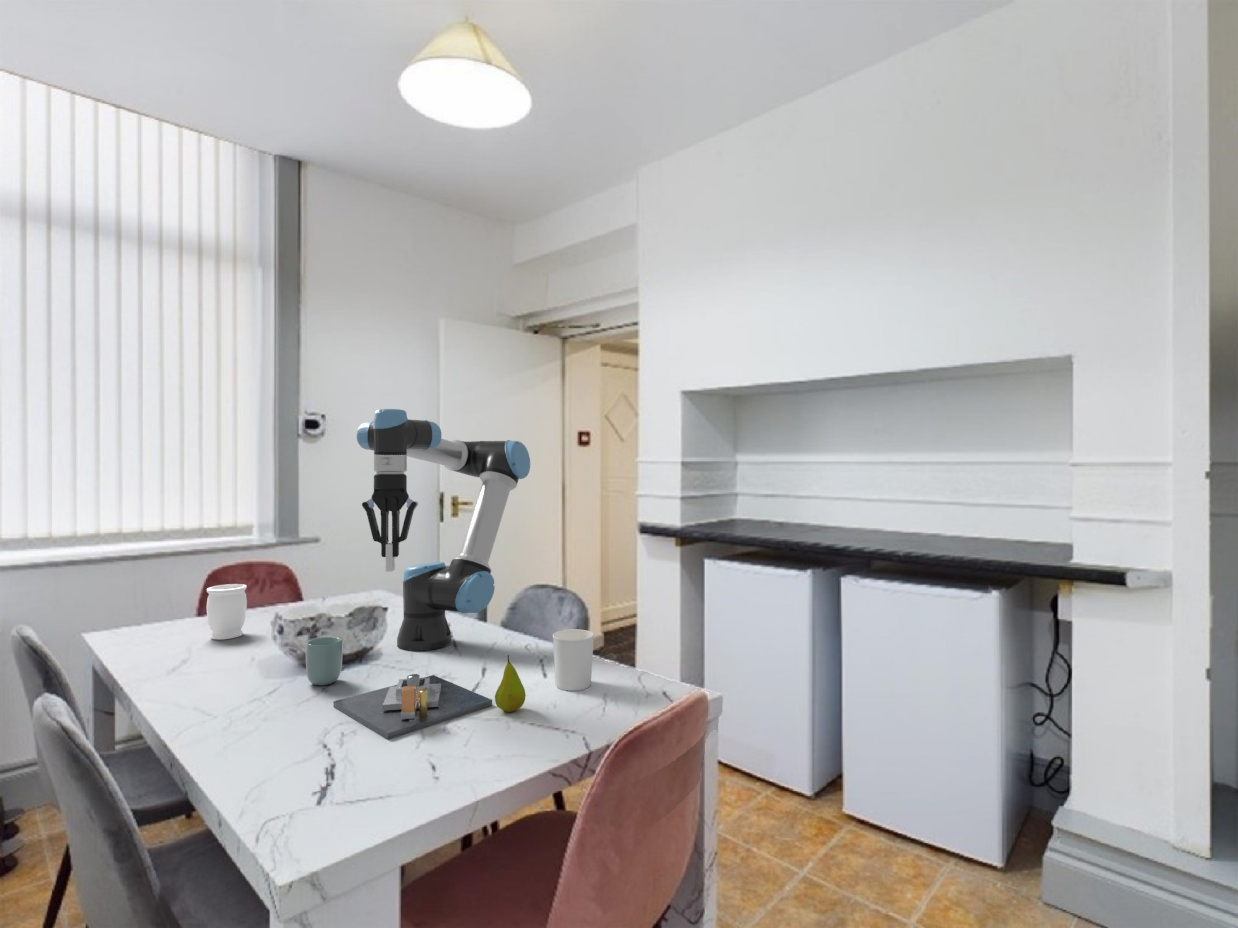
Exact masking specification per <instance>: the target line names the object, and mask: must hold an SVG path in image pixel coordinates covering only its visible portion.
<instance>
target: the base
mask: <svg viewBox="0 0 1238 928" xmlns="http://www.w3.org/2000/svg"><path fill="white" fill-rule="evenodd" d="M426 677H430V684H441V692H440V698H439V704H438V707H427V716H426V717H419V708H417V711H416V715H415V718H412V719H401V712H402V709H399V710H385V711H383V703H384V700H385V698H386V695H387V693H388V690H389V688H390V687H396V686H397V685H398V683H397V684H394V685H390V686H386V687H383V688H380V689H375V690H372V691H368V692H364V693H360V694H356V695H352V696H348V697H344V698H340V699H337V700H334V701H333V708H334V709H336V710H338V711H340V712H341V713H343V714H345V715H346V716H348V717H350V718H351V719H352V720H355V721H357V722H358V723H360V724H361V725H363V726H364V727H366V728H368V729H369V730H370V731H373V732H374V733H376V734H378V735H380V736H381V737H383V738H384V739H386V740H390V739H394V738H398V737H400V736H403V735H406V734H409V733H413V732H415V731H418V730H422V729H424V728H427V727H431V726H433V725H436V724H440V723H443V722H446V721H449V720H453V719H455V718H459V717H461V716H465V715H467V714H470V713H474V712H477V711H480V710H482V709H486V708H489V707H492V706H493V699H491V698H488V697H486V696H483V695H481V694H479V693H478V692H474V691H473V690H470V689H468V688H465V687H462V686H461V685H458V684H455V683H453V682H451V681H448V680H446V679H443V678H441V677H439V676H437V675H435V674H432V675H427V676H424V677H423V678H426ZM420 678H421V677H420V674H417V673H412V674H408V675H407V676H406V679H407V686H420Z"/></svg>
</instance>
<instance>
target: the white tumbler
mask: <svg viewBox="0 0 1238 928" xmlns="http://www.w3.org/2000/svg"><path fill="white" fill-rule="evenodd" d="M594 637H595V633H594V632H593V631H591V630H586V629H580V628H577V629H576V628H571V629H569V628H568V629H562V630H558V631H555V632H553V634H552V647H553V663H554V665H553V666H554V679H555V687H556V686H557V687H556V688H557V689H558V690H563V691H566V690H568V692H576V691H583V690H586V689H588V688H589V687H591V683H592V670H593V659H594V658H593V655H594V640H595V638H594Z"/></svg>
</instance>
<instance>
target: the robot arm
mask: <svg viewBox="0 0 1238 928" xmlns="http://www.w3.org/2000/svg"><path fill="white" fill-rule="evenodd" d="M442 436H443V435H442V430H441V428H440V426H439V424H437V423H436V422H434V421H429V420H427V419H426V420H420V419H408V415H407V411H406V410H405V409H404V410H403V409H400V408H399V409H397V408H380V409H377V410H376V411H374V417H373V420H371V421H365V422H363V423H361V424H360V425H359V427H358V428H357V430H356V441H357V444H358V445H359V446H360V448H362V449H364V450H369V451H373V471H374V472H376V473H375V474H374V475H373V492H372V495H371V498H369V499H368V500H366V501H363V502H362V504H361V506H362V508H363V509H364V511H365V512H366V516H367V521H368V524H369V528H370V533H371V537H372V540H373V542H377V543H380V546H381V548H380V549H381V557H382V558H385V572H393V571H395V569H396V568H395V567H396V563H395V562H396V561H395V559H396V558H398V557H399V555H400V543H401V542H404V541H406V540H407V538H408V534H409V531H410V528H411V524H412V519H413V515H414V512H415V510H416V508H417V507H418V505H419V502H418V501H416V500H415V501H414V500H413V499H412V498H410V497H409V493H408V491H407V489H408V486H407V485H408V483H407V482H408V481H407V477H408V476H407V475H406V473H405V472H407V471H408V470H407V469H408V465H407V462H408V461H407V459H408V458H412V459H417V460H421V461H424V462H425V461H426V462H429V463H434V464H437V465H441V466H444V467H445V468H446V469H447V470H449V471H453V472H456V473H459V474H464V475H468V476H470V477H474V478H479V480H480V481H481V482H482V483H481V486H480V490H479V493H478V496H477V499H476V502H475V505H474V508H473V511H472V514H471V517H470V520H469V524H468V526H467V530H466V532H465V535H464V539H463V541H462V545H461V548H460V550H459V554H458V555H457V556H455V557H453V558H452V559H451V562H450V564H449V567H448V568H447V565H446V563H445V562H443V561H442V562H441V561H438V562H428V563H421V564H416V565H411V566H408V567H406V568H405V570H404V571H403V581H402V588H403V589H402V593H403V594H402V595H403V597H402V598H403V605H402V606H403V619H402V623H401V624H400V628H399V632H398V634H397V637H396V647H398V648H399V649H401V650H405V651H417V652H418V651H430V650H436V649H441V648H443V647H447V646H448V645H450V644H451V643H452V632H451V629H450V626H449V623H448V620H447V618H446V612H447V611H449V612H454V613H455V612H458V613H461V614H477V613H480V612H482V610H484V609H486V608H487V607H488V606H489V604H490V602H491V601H492V599H493V596H494V593H495V588H496V587H495V579H494V577H493V574H491V573H492V568H491V567H490V565H489V563H490V562H489V561H490V558H491V554H492V551H493V548H494V544H495V541H496V538H497V536H498V535H497V534H498V531H499V528H500V525H501V521H502V518H503V514H504V512H505V508H506V504H507V502H508V499H509V495H510V492H511V491H512V490H513V491H514V490H515V489H516V488H517V486H518V482H519V480H523V479H525V478H527V476H528V475H529V473H530V470H531V459H530V458H531V457H530V454H529V451H528V449H527V447H526V446H525V444H524V443H523V442H521V441H520V440H519V441H518V440H510V439H507V440H477V441H476V440H475V441H463V440H461V439H460V440H459V439H454V440H448V439H445V438H442ZM407 457H408V458H407ZM405 504H406V508H407V510H406V512H405V515H404V520H403V523H402V524H403V525H402V528H401V532H400V513H401V509H402V508H403V506H405ZM375 506H376V507H377V508H378V510H380V529H379V525H378V520H377V518H376V517H377V516H376V513H375V510H374V507H375ZM390 512H391V520H392V521H391V542H389V541H390V540H389V515H390Z"/></svg>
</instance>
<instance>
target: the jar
mask: <svg viewBox="0 0 1238 928" xmlns="http://www.w3.org/2000/svg"><path fill="white" fill-rule="evenodd" d="M246 590H247V584H243V583H242V584H241V583H240V584H239V583H229V584H218V585H213V586H210V587H207V588H206V593H207V594H208V595H207V601H206V616H207V621H208V626H209V629H210V631H211V632H212V634H211V635H210V639H212V640H219V641H221V640H230V639H235V638H239V637H241V636H242V635H243V634H244V632H243V630H242V628H243V627H244V625H245V624H244V623H245V621H246V620H245V619H246V614H247V608H248V607H247V606H248V600H247V594H246Z"/></svg>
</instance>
